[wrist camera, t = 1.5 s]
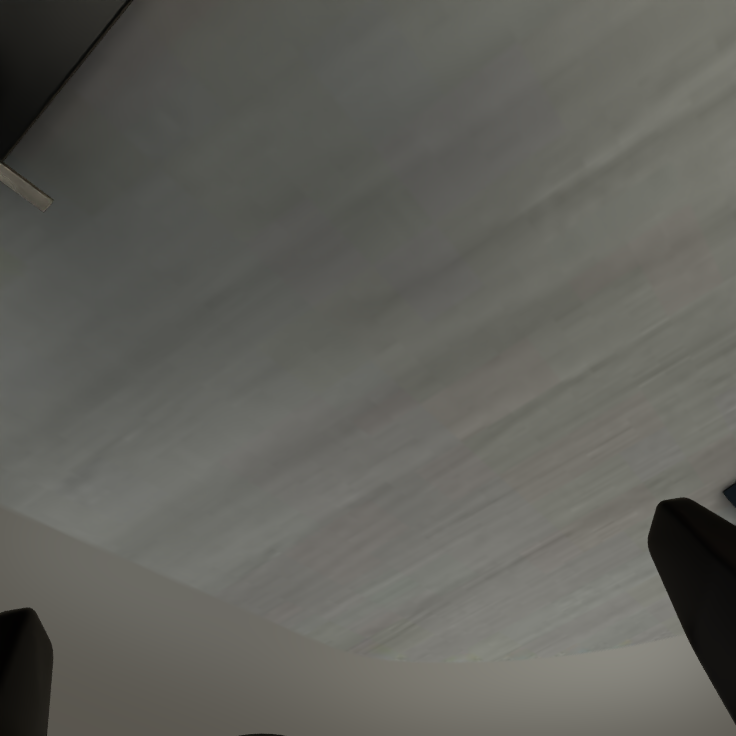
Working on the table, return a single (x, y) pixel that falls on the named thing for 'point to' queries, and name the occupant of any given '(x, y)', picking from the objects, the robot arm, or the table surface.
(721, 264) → the table surface
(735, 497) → the push button box
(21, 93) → the dial panel
